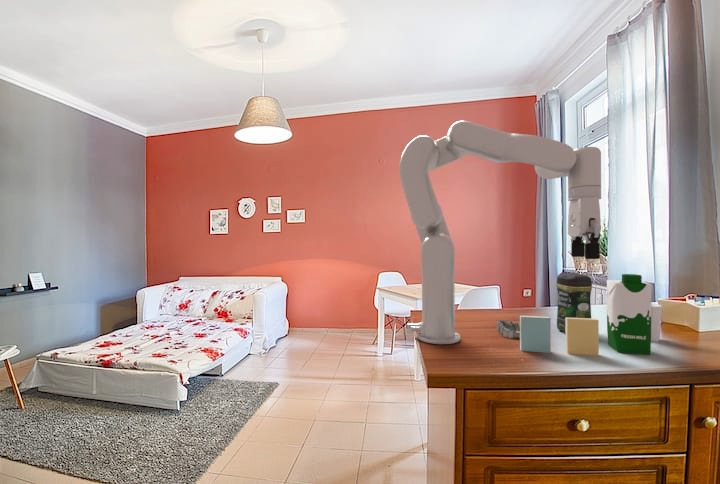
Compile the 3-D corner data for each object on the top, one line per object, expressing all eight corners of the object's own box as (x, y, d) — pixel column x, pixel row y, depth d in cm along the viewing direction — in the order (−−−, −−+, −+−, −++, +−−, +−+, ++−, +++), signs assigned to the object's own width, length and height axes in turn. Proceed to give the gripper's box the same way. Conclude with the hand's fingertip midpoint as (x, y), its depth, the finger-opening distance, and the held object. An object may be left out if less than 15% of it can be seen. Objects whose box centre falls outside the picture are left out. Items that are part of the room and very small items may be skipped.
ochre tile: (567, 353, 89) (567, 318, 89) (565, 351, 90) (565, 317, 90) (598, 355, 87) (598, 320, 87) (595, 353, 89) (595, 318, 88)
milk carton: (614, 353, 88) (614, 275, 88) (602, 342, 97) (602, 272, 97) (656, 356, 86) (656, 276, 85) (640, 345, 94) (640, 272, 94)
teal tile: (521, 350, 91) (521, 316, 91) (520, 348, 93) (519, 315, 93) (550, 352, 90) (550, 318, 89) (548, 350, 91) (548, 316, 91)
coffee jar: (552, 328, 112) (551, 271, 112) (575, 328, 113) (575, 271, 113) (571, 337, 103) (571, 275, 103) (597, 336, 103) (597, 274, 103)
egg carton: (529, 339, 102) (529, 326, 102) (503, 338, 103) (502, 325, 103) (519, 330, 112) (519, 318, 112) (495, 329, 113) (495, 317, 113)
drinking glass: (662, 343, 96) (662, 307, 96) (632, 339, 100) (632, 305, 100) (660, 337, 101) (660, 303, 101) (631, 334, 105) (631, 301, 105)
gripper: (558, 198, 103) (559, 256, 103) (581, 191, 86) (581, 259, 86) (587, 197, 101) (587, 256, 101) (615, 189, 84) (616, 259, 84)
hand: (584, 257), depth 93 cm, fingers open, 9 cm apart
